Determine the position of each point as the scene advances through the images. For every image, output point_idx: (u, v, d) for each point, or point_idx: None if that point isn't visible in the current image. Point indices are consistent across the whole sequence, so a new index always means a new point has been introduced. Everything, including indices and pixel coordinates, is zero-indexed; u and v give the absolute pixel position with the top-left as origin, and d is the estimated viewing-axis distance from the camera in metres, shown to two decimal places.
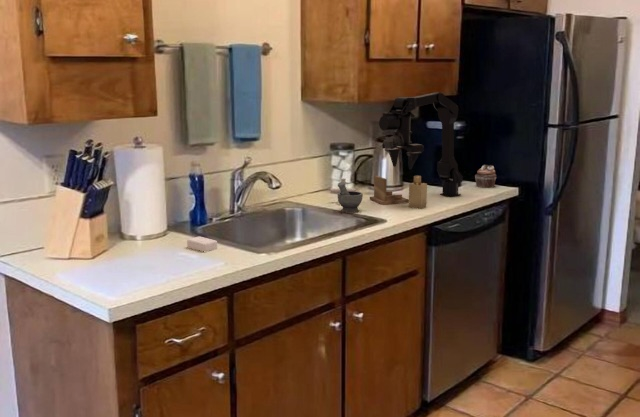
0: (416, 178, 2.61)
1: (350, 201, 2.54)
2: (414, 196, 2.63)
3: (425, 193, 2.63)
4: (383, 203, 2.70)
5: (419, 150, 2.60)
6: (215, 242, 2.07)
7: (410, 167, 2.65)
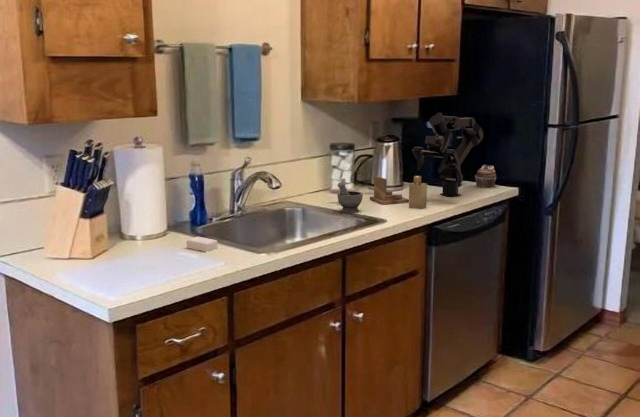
0: (416, 178, 2.61)
1: (350, 201, 2.54)
2: (414, 196, 2.63)
3: (425, 193, 2.63)
4: (383, 203, 2.70)
5: (456, 157, 2.67)
6: (215, 242, 2.07)
7: (439, 170, 2.66)
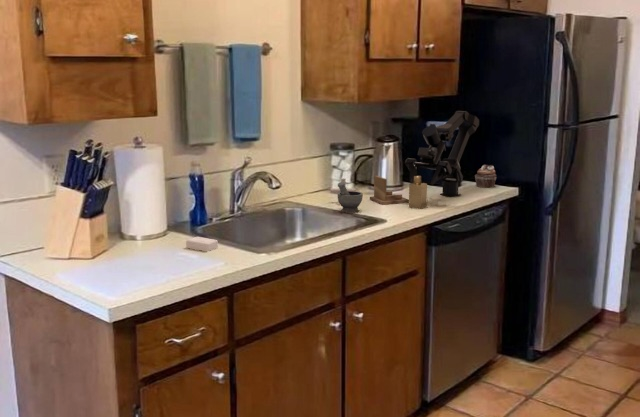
0: (416, 178, 2.61)
1: (350, 201, 2.54)
2: (414, 196, 2.63)
3: (425, 193, 2.63)
4: (383, 203, 2.70)
5: (449, 170, 2.63)
6: (216, 241, 2.08)
7: (432, 182, 2.62)
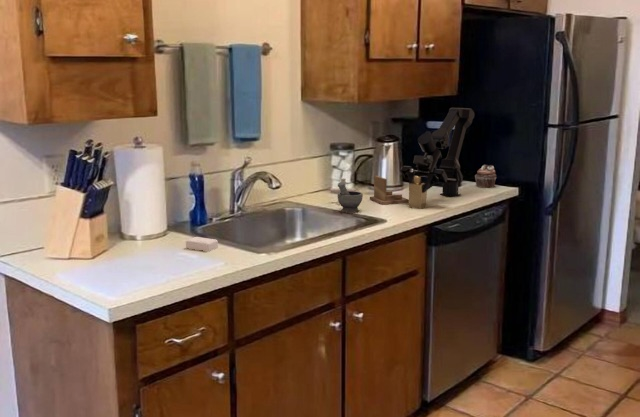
0: (416, 178, 2.61)
1: (350, 201, 2.54)
2: (414, 196, 2.63)
3: (425, 193, 2.63)
4: (383, 203, 2.70)
5: (444, 177, 2.61)
6: (216, 241, 2.08)
7: (424, 190, 2.61)
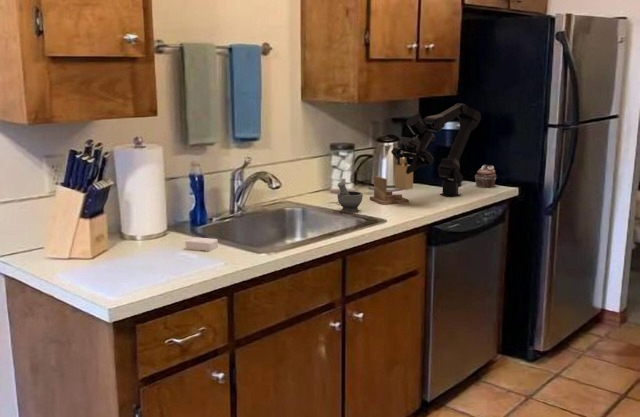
0: (401, 159, 2.64)
1: (350, 201, 2.54)
2: (399, 177, 2.66)
3: (411, 174, 2.65)
4: (383, 203, 2.70)
5: (429, 159, 2.61)
6: (216, 240, 2.09)
7: (408, 171, 2.63)
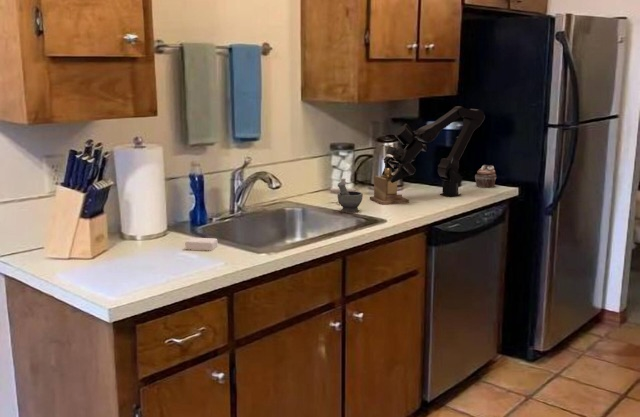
0: (385, 170, 2.73)
1: (350, 201, 2.54)
2: None
3: (394, 185, 2.74)
4: (383, 203, 2.70)
5: (410, 169, 2.67)
6: (216, 240, 2.09)
7: (392, 180, 2.70)
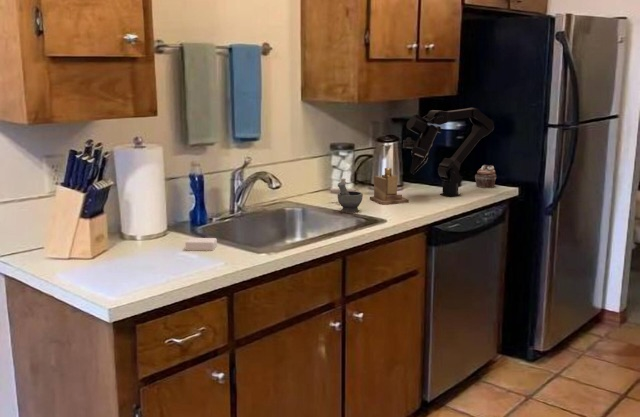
0: (385, 170, 2.73)
1: (350, 201, 2.54)
2: None
3: (394, 185, 2.74)
4: (383, 203, 2.70)
5: (419, 153, 2.69)
6: (216, 239, 2.10)
7: (411, 170, 2.73)
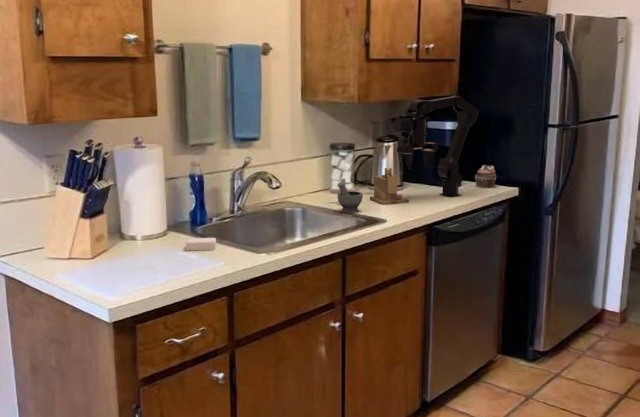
0: (385, 170, 2.73)
1: (350, 201, 2.54)
2: None
3: (394, 185, 2.74)
4: (383, 203, 2.70)
5: (401, 151, 2.71)
6: (215, 239, 2.10)
7: (408, 167, 2.75)
